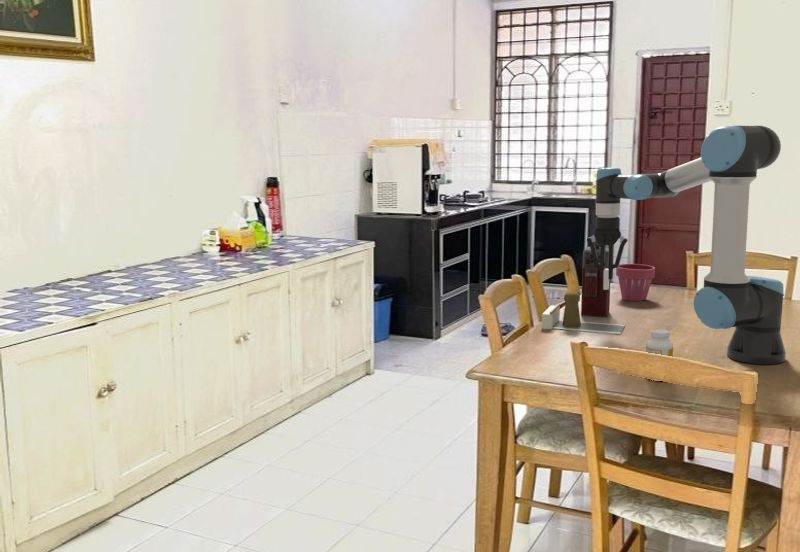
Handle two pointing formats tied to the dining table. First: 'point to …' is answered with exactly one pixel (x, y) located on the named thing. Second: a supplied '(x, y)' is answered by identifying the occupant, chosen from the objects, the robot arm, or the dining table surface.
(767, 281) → the robot arm
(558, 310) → the stop block
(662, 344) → the supplement bottle
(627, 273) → the plant pot
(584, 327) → the mat
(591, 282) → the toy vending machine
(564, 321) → the cork
